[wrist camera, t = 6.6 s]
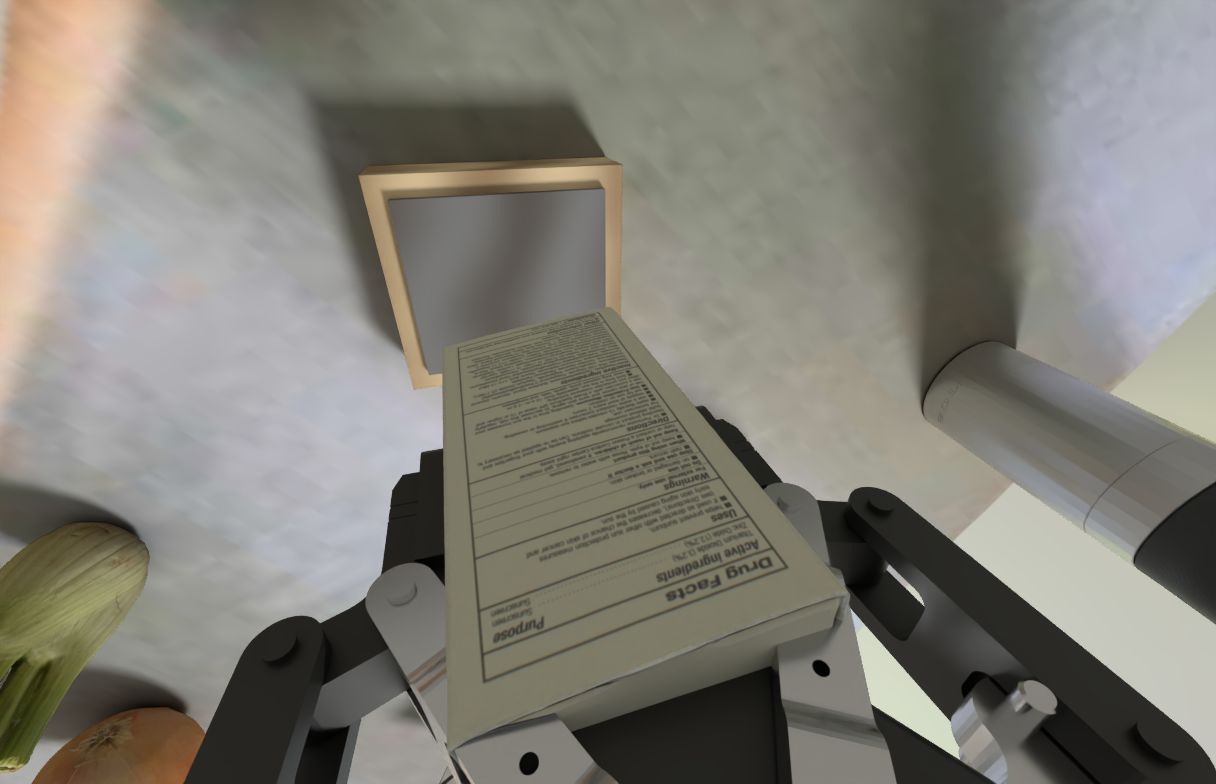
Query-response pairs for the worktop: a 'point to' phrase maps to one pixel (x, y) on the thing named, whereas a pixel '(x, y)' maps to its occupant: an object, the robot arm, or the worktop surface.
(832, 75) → the worktop surface
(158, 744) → the onion
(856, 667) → the robot arm
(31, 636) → the fennel bulb
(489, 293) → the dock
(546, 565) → the skincare box
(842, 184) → the worktop surface
